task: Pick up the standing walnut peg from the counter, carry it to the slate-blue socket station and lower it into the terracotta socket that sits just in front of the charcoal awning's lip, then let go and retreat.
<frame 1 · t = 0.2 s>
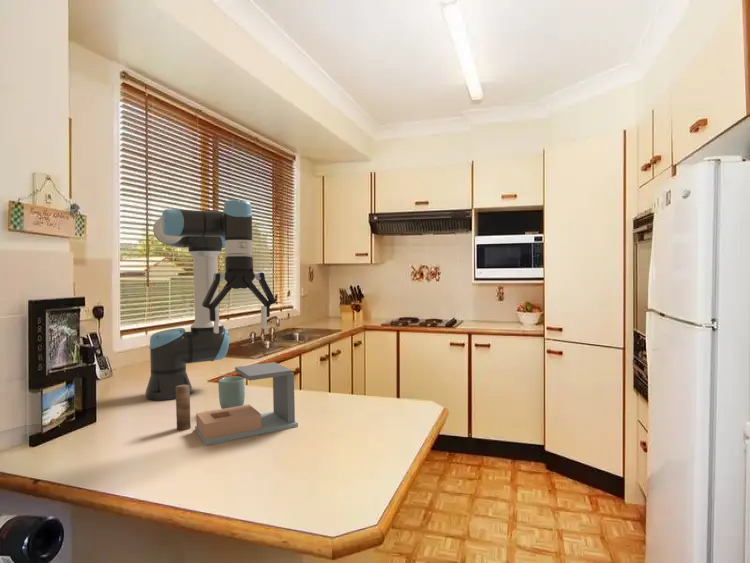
hand: (240, 330, 132), 27 cm above the worktop, fingers open, 13 cm apart
station: (246, 427, 131), on the worktop
peg: (183, 428, 131), on the worktop
cup: (232, 411, 147), on the worktop
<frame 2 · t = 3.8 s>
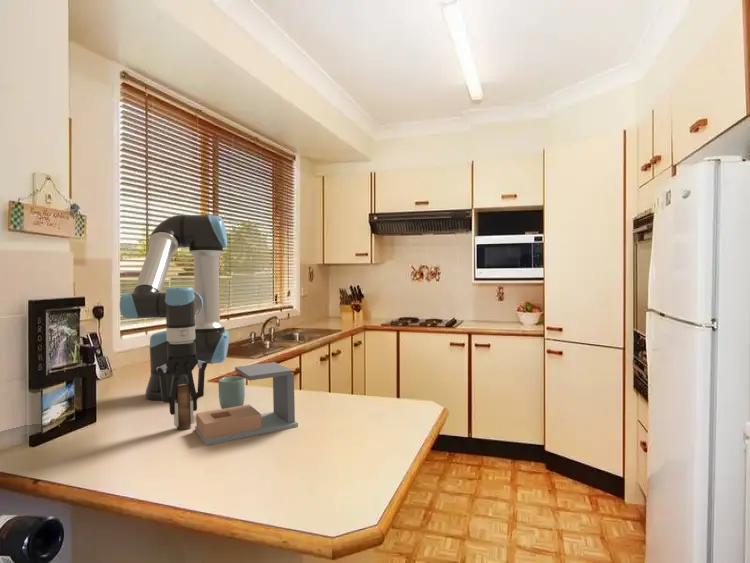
hand: (183, 423, 132), 1 cm above the worktop, fingers closed on peg, 3 cm apart
peg: (184, 427, 132), on the worktop, touching gripper
everything else where it was.
when the fingers open (6 cm above the worktop, at t = 8.0 s): peg stays where it is, resting on station.
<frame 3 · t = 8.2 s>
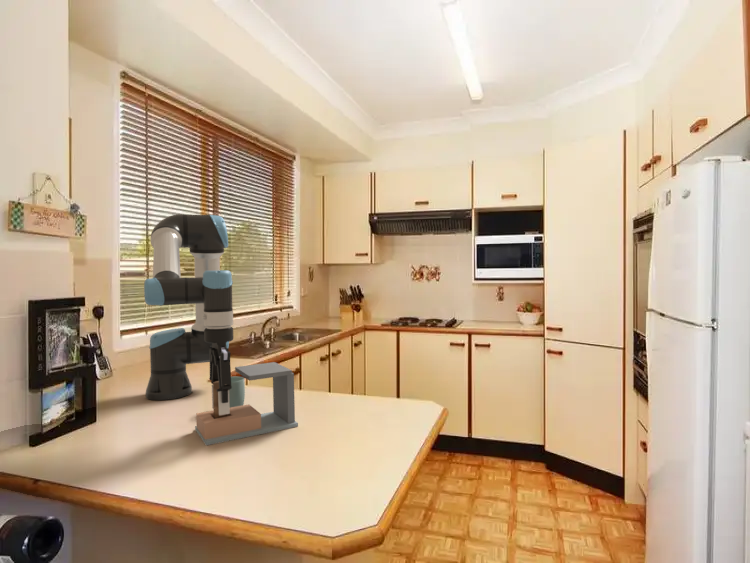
hand: (220, 410, 127), 6 cm above the worktop, fingers open, 7 cm apart
peg: (220, 425, 127), point 2 cm above the worktop, touching station
everything else where it was.
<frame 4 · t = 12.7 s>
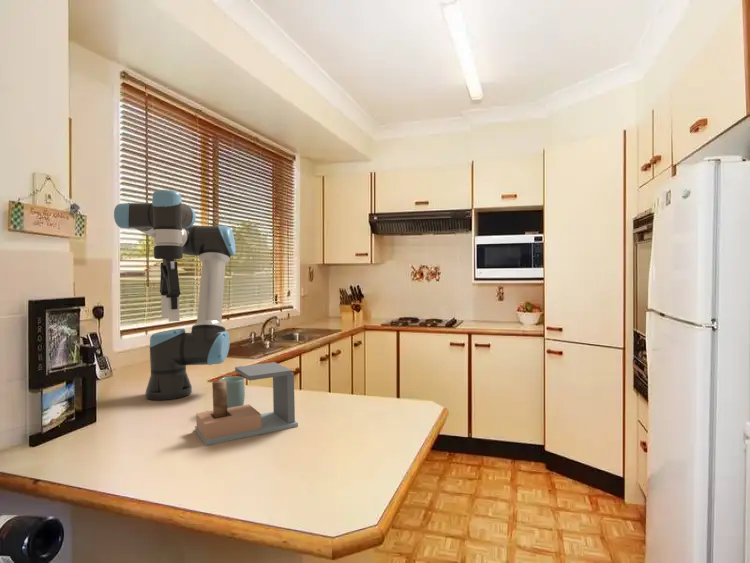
hand: (170, 319, 133), 31 cm above the worktop, fingers open, 13 cm apart
nothing on the worktop moved.
at the end: peg 0.1 cm from the target spot on the station, point 2.0 cm above the station's base; peg tilted 1°; the gripper is holding nothing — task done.
